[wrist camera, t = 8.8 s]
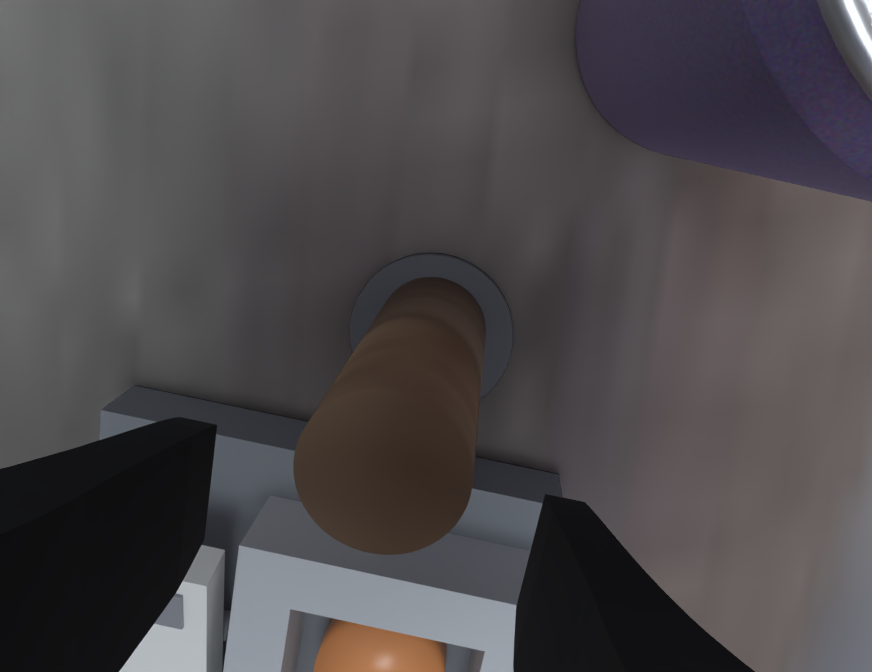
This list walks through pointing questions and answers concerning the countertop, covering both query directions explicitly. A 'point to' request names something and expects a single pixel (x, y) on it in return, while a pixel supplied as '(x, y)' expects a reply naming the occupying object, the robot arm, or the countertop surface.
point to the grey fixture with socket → (346, 550)
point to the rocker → (188, 623)
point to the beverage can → (738, 83)
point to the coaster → (458, 272)
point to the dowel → (399, 425)
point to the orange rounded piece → (377, 650)
